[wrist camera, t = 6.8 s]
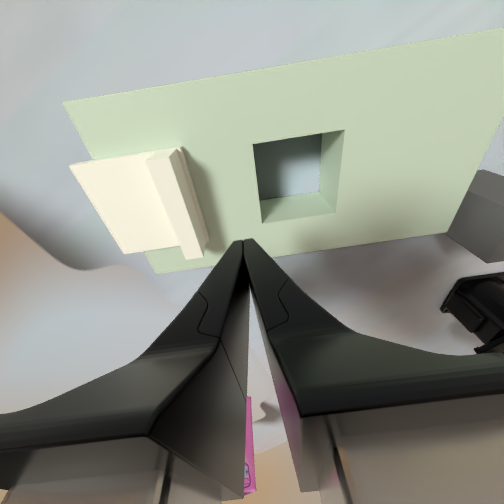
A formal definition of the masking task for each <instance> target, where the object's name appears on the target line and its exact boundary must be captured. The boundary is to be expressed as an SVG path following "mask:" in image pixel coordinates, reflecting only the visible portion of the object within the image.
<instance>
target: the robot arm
mask: <svg viewBox="0 0 504 504" xmlns="http://www.w3.org/2000/svg"><path fill="white" fill-rule="evenodd" d="M250 289H251V294H252V298H253V302H254V306H255V310H256V314H257V318H258V322H259V326H260V330H261V334H262V338H263V342H264V346H265V350H266V354H267V358H268V362H269V366H270V370H271V374H272V378H273V382H274V386H275V390H276V394H277V398H278V402H279V406H280V410H281V414H282V418H283V422H284V426H285V430H286V434H287V438H288V442H289V446H290V450H291V455H292V459H293V463H294V466H295V471H296V474H297V478H298V483H299V487H300V491H301V492H310V491H320V496H321V501H322V504H504V273H497V274H490V275H482V276H475V277H468V278H462V279H460V280H459V281H458V282H457V284H456V285H455V287H454V288H453V290H452V292H451V293H450V295H449V296H448V298H447V300H446V301H445V303H444V304H443V306H442V308H441V309H440V310H441V312H442V313H450V312H451V313H452V314H453V315H454V316H455V317H456V318H457V319H458V320H459V321H460V322H461V323H462V325H463V326H464V327H465V328H466V329H467V330H468V331H469V332H471V333H474V334H475V335H476V336H477V337H478V338H479V339H480V340H481V341H482V342H483V343H484V344H485V345H483V346H481V347H476V348H474V351H475V352H476V353H477V354H475V355H463V356H455V355H444V354H437V353H432V352H427V351H423V350H419V349H415V348H412V347H408V346H404V345H400V344H397V343H393V342H389V341H385V340H382V339H378V338H374V337H370V336H367V335H363V334H360V333H357V332H355V331H353V330H351V329H350V328H348V327H346V326H345V325H344V324H342V323H341V322H340V321H338V320H337V319H336V318H335V317H334V316H332V315H331V314H330V313H329V312H327V311H326V310H325V309H324V308H322V307H321V306H320V305H319V304H318V303H316V302H315V301H314V300H313V299H312V298H310V297H309V296H308V295H307V294H306V293H305V292H303V291H302V290H301V289H300V288H299V287H298V286H297V285H296V284H295V283H294V281H293V280H292V279H291V278H290V277H289V276H288V275H287V274H286V273H285V272H284V271H283V270H282V269H281V268H280V267H279V265H278V264H277V263H276V262H275V261H274V260H273V259H272V258H271V257H270V256H269V255H268V254H267V253H266V252H265V250H264V249H263V248H262V247H261V246H260V245H259V244H258V243H257V242H256V241H255V240H254V239H253V238H249V239H244V241H243V240H236V241H233V242H232V244H231V245H230V246H229V248H228V249H227V250H226V252H225V253H224V255H223V256H222V257H221V259H220V260H219V261H218V263H217V264H216V266H215V267H214V268H213V270H212V271H211V272H210V274H209V275H208V276H207V278H206V279H205V281H204V282H203V283H202V285H201V286H200V287H199V289H198V290H197V291H198V292H196V293H195V294H194V295H193V297H192V298H191V300H190V301H189V302H188V303H187V305H186V306H185V307H184V309H183V310H182V311H181V312H180V313H179V314H178V316H177V317H176V318H175V319H174V320H173V321H172V322H171V323H170V325H169V326H168V327H167V328H166V329H165V330H164V331H163V332H162V333H161V334H160V336H159V337H158V338H157V339H156V340H155V341H154V342H153V343H152V344H151V345H150V347H149V348H148V349H147V350H146V351H145V352H144V353H143V354H141V355H140V356H139V357H138V358H137V359H135V360H134V361H132V362H130V363H129V364H127V365H125V366H123V367H121V368H119V369H116V370H114V371H112V372H110V373H108V374H105V375H103V376H101V377H99V378H97V379H94V380H93V381H90V382H88V383H86V384H84V385H81V386H79V387H77V388H75V389H73V390H70V391H68V392H66V393H64V394H62V395H59V396H57V397H55V398H53V399H51V400H48V401H46V402H44V403H41V404H38V405H36V406H33V407H30V408H27V409H24V410H21V411H17V412H12V413H6V414H0V489H4V490H8V492H7V493H6V495H5V497H4V499H3V501H2V502H1V504H221V501H227V500H235V499H243V498H244V475H245V443H246V410H247V404H246V402H247V375H248V341H249V308H250Z"/></svg>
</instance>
